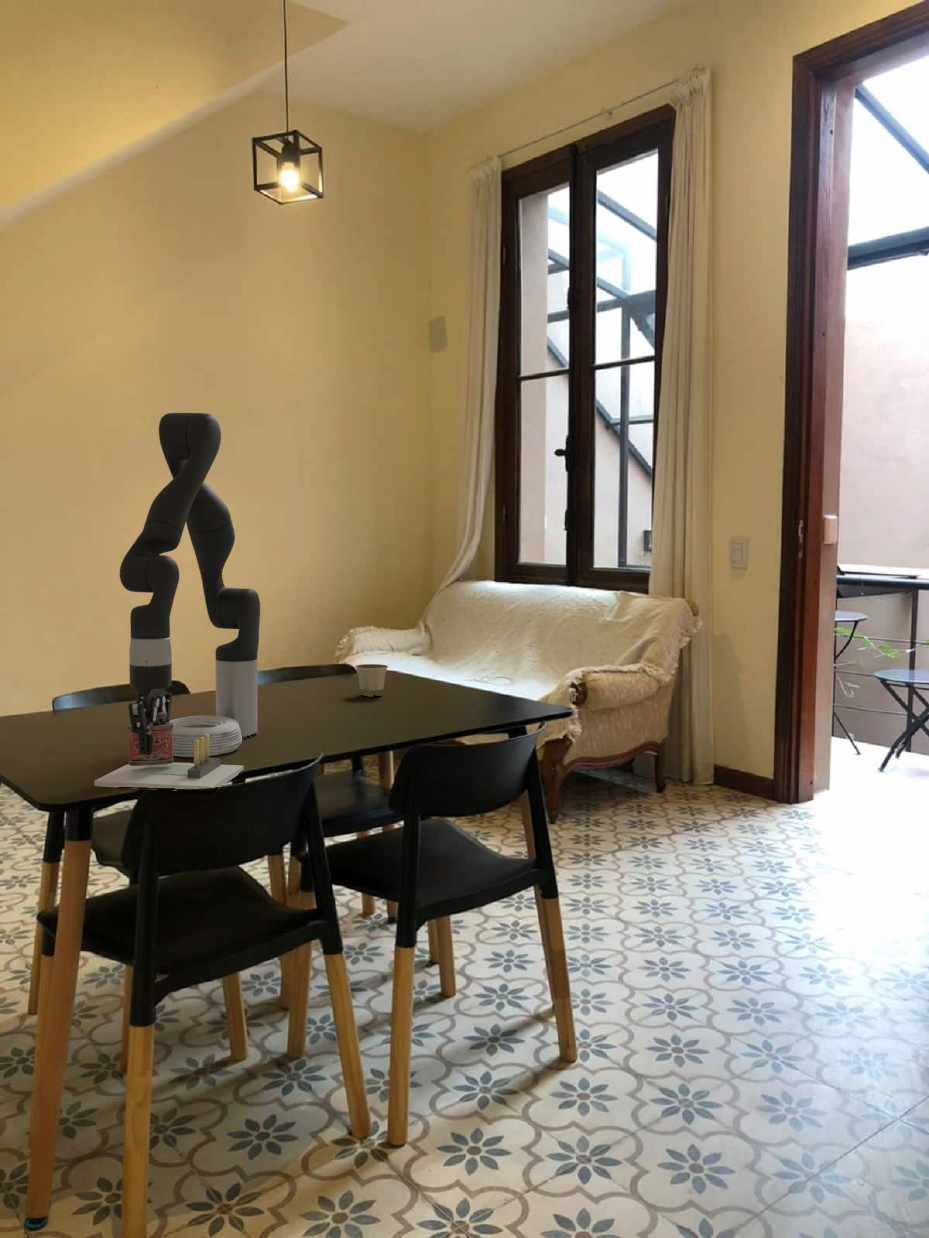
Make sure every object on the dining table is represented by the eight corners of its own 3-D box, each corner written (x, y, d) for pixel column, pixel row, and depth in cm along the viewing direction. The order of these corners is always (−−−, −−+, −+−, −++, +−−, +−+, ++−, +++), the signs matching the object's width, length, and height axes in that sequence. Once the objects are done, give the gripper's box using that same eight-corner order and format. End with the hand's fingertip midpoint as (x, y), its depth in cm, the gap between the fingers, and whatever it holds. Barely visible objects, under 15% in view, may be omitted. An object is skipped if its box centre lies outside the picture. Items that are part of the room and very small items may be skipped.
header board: (135, 765, 190) (134, 727, 189) (243, 770, 187) (243, 732, 187) (94, 786, 174) (93, 745, 173) (212, 792, 171) (212, 750, 171)
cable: (217, 738, 217) (217, 711, 217) (258, 751, 205) (258, 723, 204) (142, 748, 205) (142, 720, 205) (181, 764, 193) (181, 734, 192)
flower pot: (354, 693, 280) (355, 663, 280) (387, 693, 281) (387, 663, 281) (354, 698, 271) (355, 668, 270) (388, 698, 272) (388, 668, 271)
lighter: (173, 760, 186) (172, 708, 185) (173, 764, 183) (173, 711, 182) (128, 762, 183) (128, 710, 182) (128, 766, 180) (128, 713, 179)
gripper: (153, 667, 174) (154, 761, 175) (185, 657, 188) (185, 744, 189) (113, 666, 175) (114, 759, 176) (148, 656, 189) (149, 742, 190)
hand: (151, 751), depth 183 cm, fingers closed on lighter, 4 cm apart
